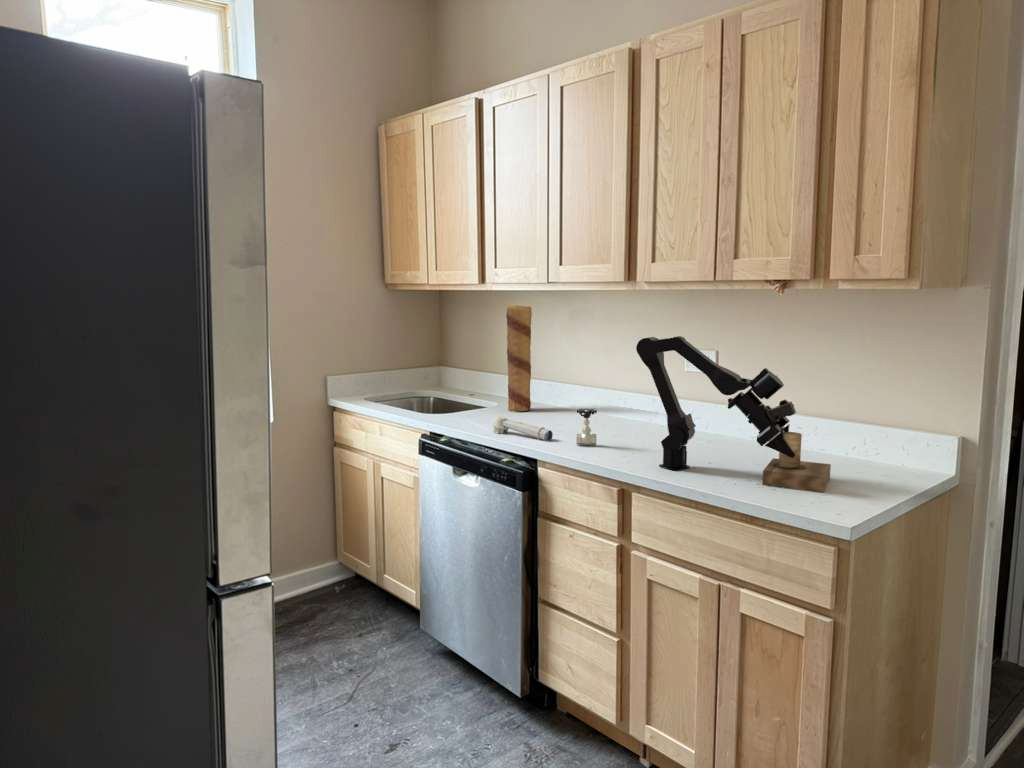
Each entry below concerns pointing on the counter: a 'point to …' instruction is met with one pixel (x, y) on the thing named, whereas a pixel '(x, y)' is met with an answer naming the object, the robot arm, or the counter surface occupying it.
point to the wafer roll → (519, 357)
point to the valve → (586, 429)
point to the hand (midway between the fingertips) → (795, 454)
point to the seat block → (798, 476)
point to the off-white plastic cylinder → (521, 428)
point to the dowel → (795, 445)
